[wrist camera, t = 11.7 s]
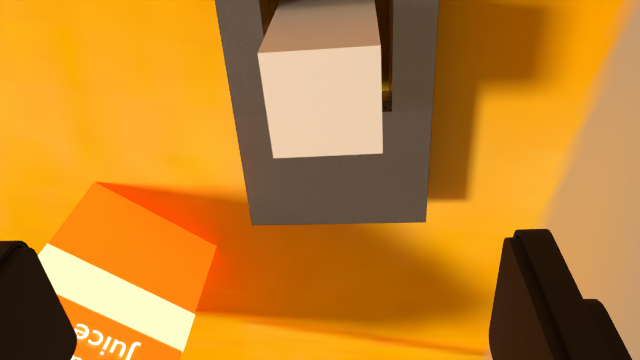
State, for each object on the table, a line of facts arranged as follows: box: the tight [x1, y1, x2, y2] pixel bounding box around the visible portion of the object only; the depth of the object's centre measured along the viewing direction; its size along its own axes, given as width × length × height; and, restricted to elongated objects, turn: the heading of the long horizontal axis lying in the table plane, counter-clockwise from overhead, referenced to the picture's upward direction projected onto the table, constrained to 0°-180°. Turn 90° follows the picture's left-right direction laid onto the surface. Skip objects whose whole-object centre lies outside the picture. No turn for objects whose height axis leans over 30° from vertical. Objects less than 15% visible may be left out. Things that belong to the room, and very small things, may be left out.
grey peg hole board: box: [215, 0, 439, 225], centre depth 26 cm, size 20×10×2 cm, turn 3°
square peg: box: [258, 0, 383, 158], centre depth 24 cm, size 4×4×8 cm
